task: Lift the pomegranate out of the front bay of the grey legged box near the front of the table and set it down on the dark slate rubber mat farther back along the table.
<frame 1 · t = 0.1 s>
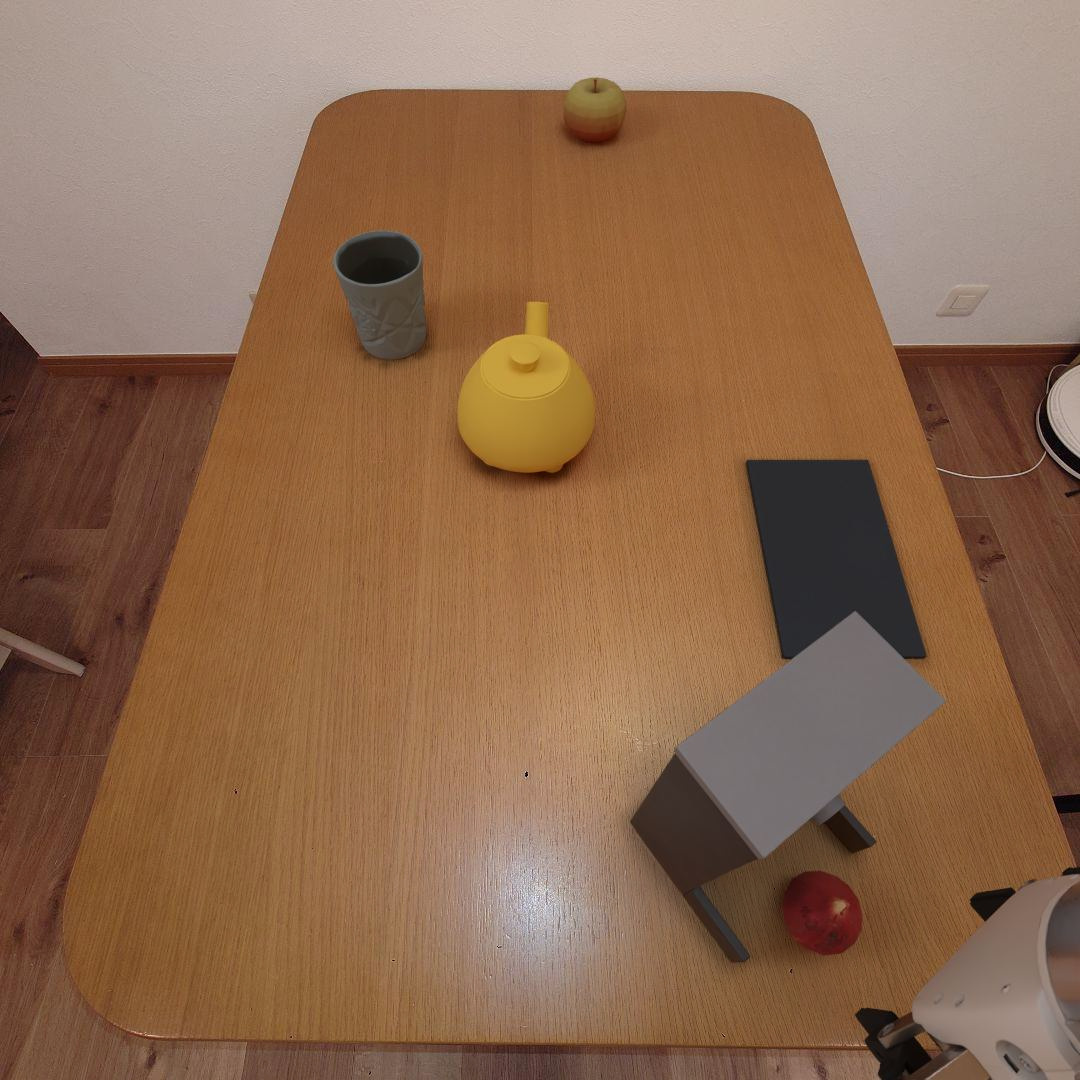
hand: (937, 978, 40), 20 cm above the table, tool pointing down, fingers open, 9 cm apart
pomegranate: (805, 914, 59), on the table
teapot: (529, 423, 85), on the table
grey legged box: (785, 807, 51), on the table
apple: (593, 135, 117), on the table
grey cup: (395, 336, 93), on the table
mat: (827, 552, 76), on the table
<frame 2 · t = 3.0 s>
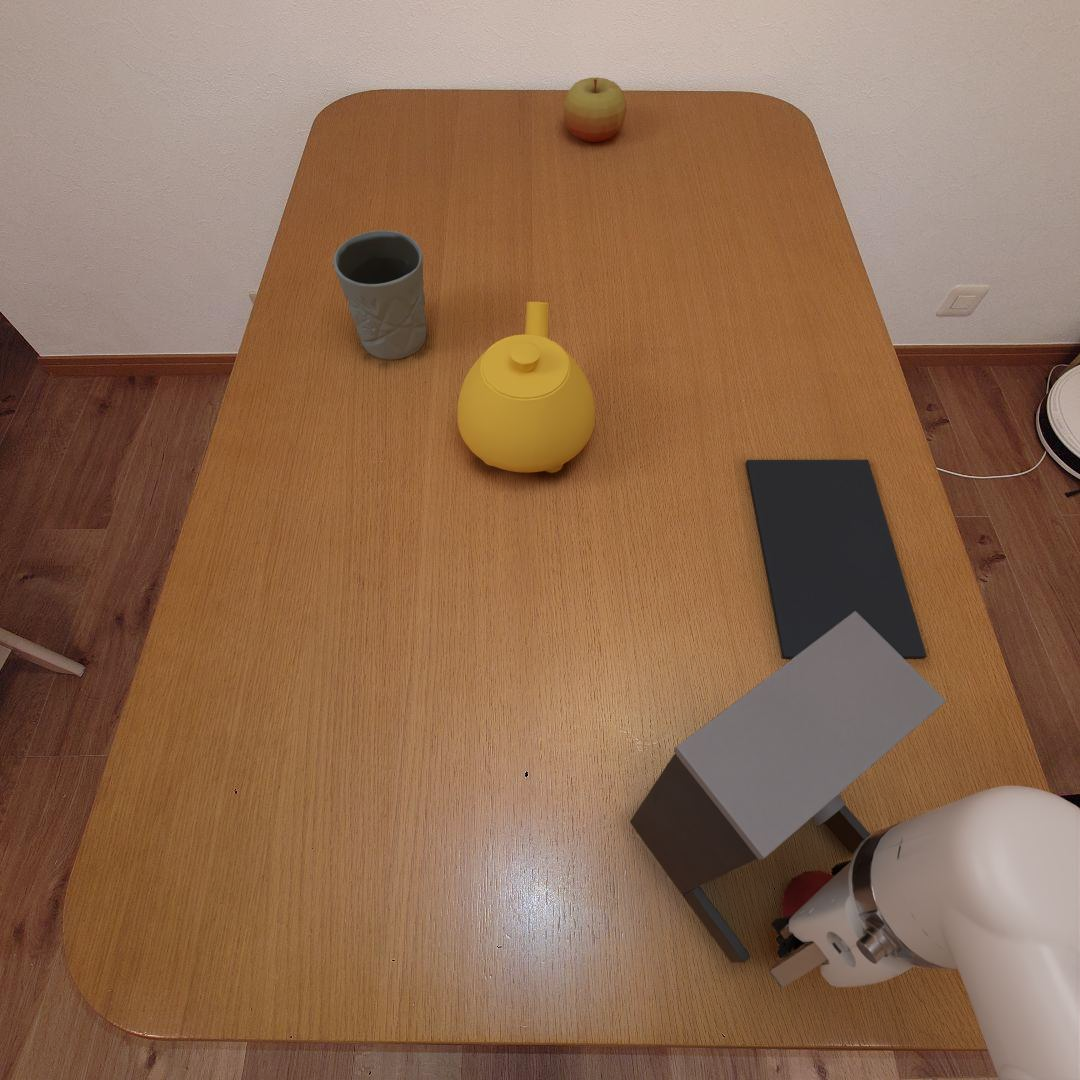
hand: (818, 912, 56), 3 cm above the table, tool pointing down, fingers closed on pomegranate, 5 cm apart
pomegranate: (805, 914, 59), on the table, touching gripper
everything else where it was.
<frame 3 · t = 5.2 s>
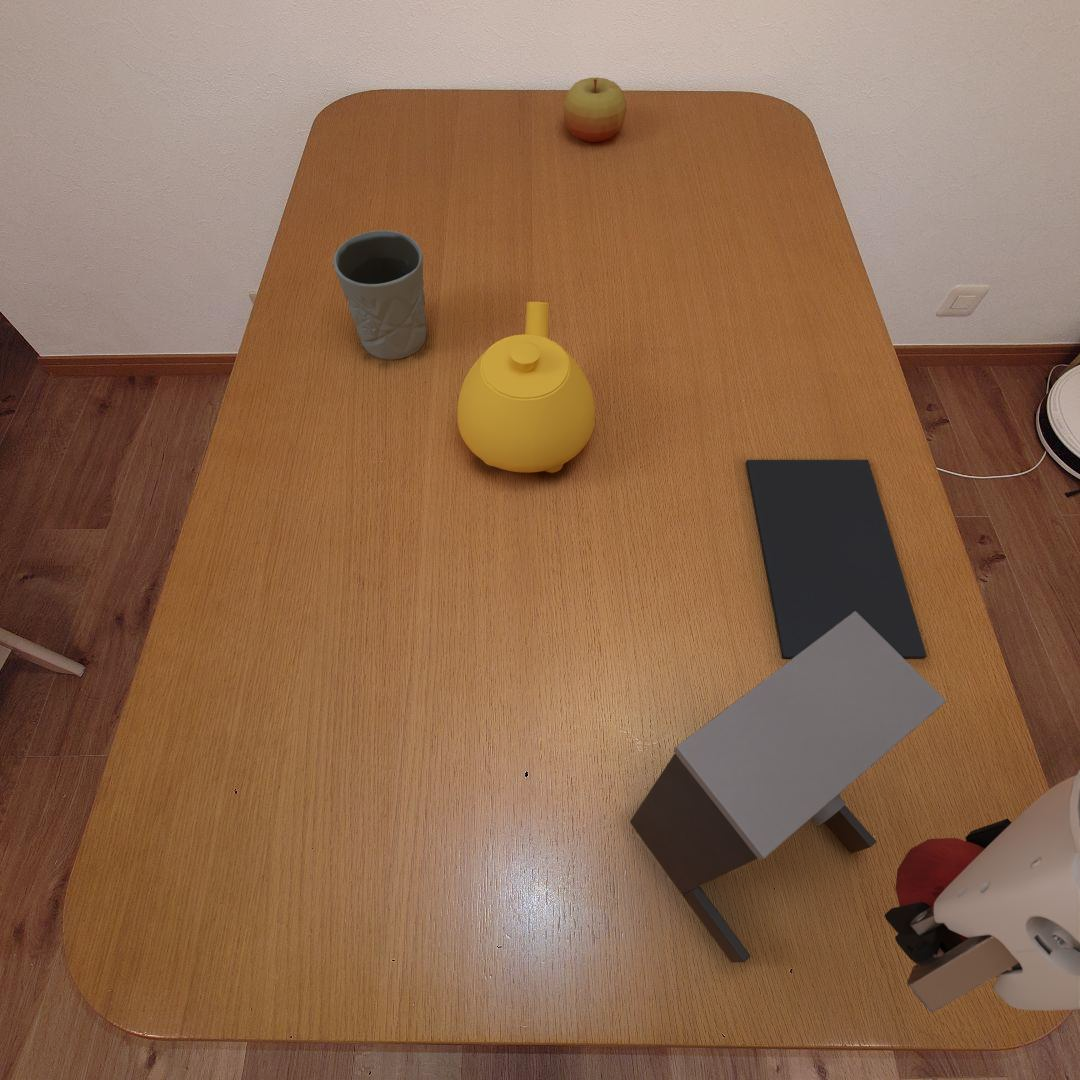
hand: (952, 898, 38), 23 cm above the table, tool pointing down, fingers closed on pomegranate, 5 cm apart
pomegranate: (924, 903, 41), point 20 cm above the table, touching gripper
everything else where it was.
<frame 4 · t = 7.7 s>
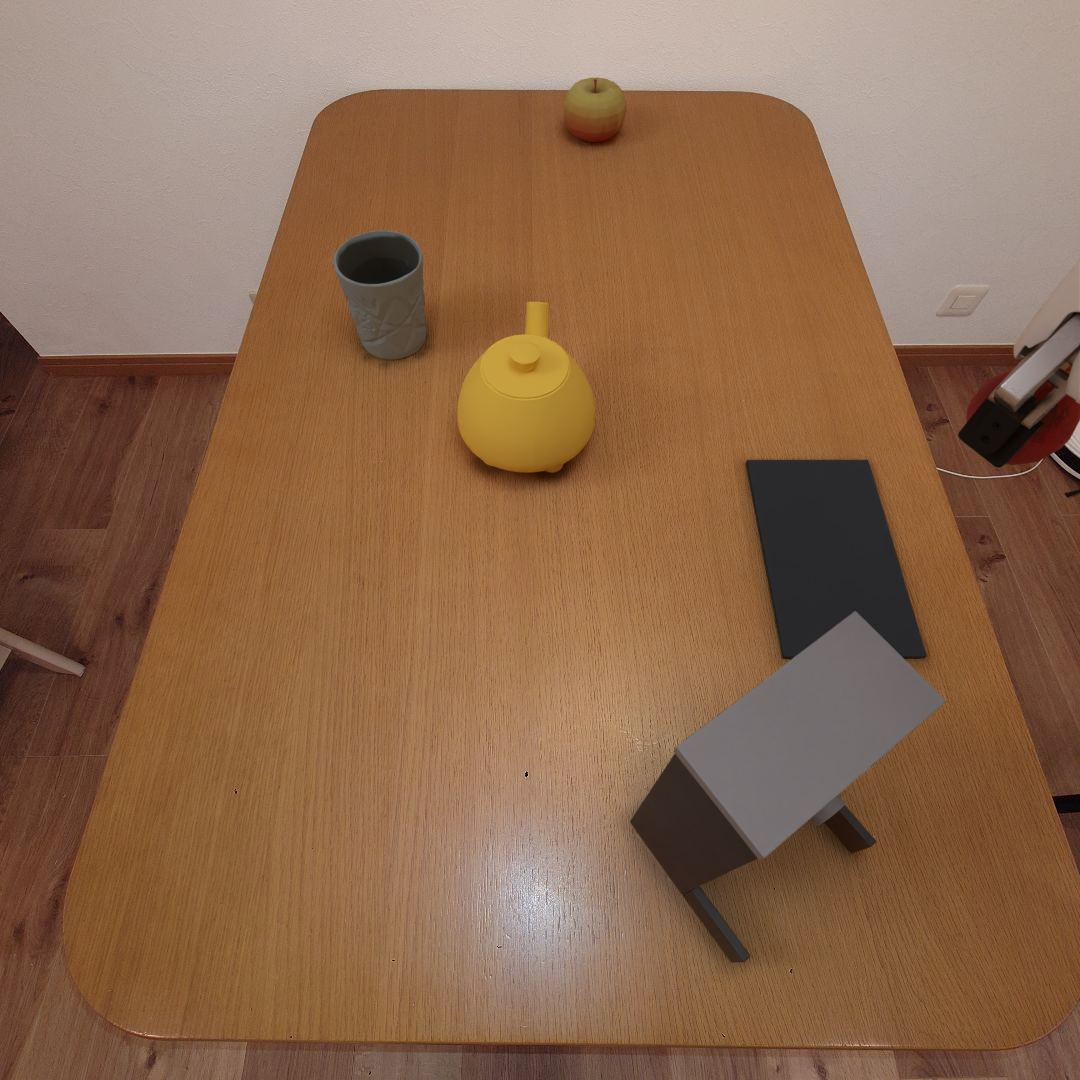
hand: (1015, 424, 45), 31 cm above the table, tool pointing down, fingers closed on pomegranate, 5 cm apart
pomegranate: (987, 454, 48), point 28 cm above the table, touching gripper
everything else where it was.
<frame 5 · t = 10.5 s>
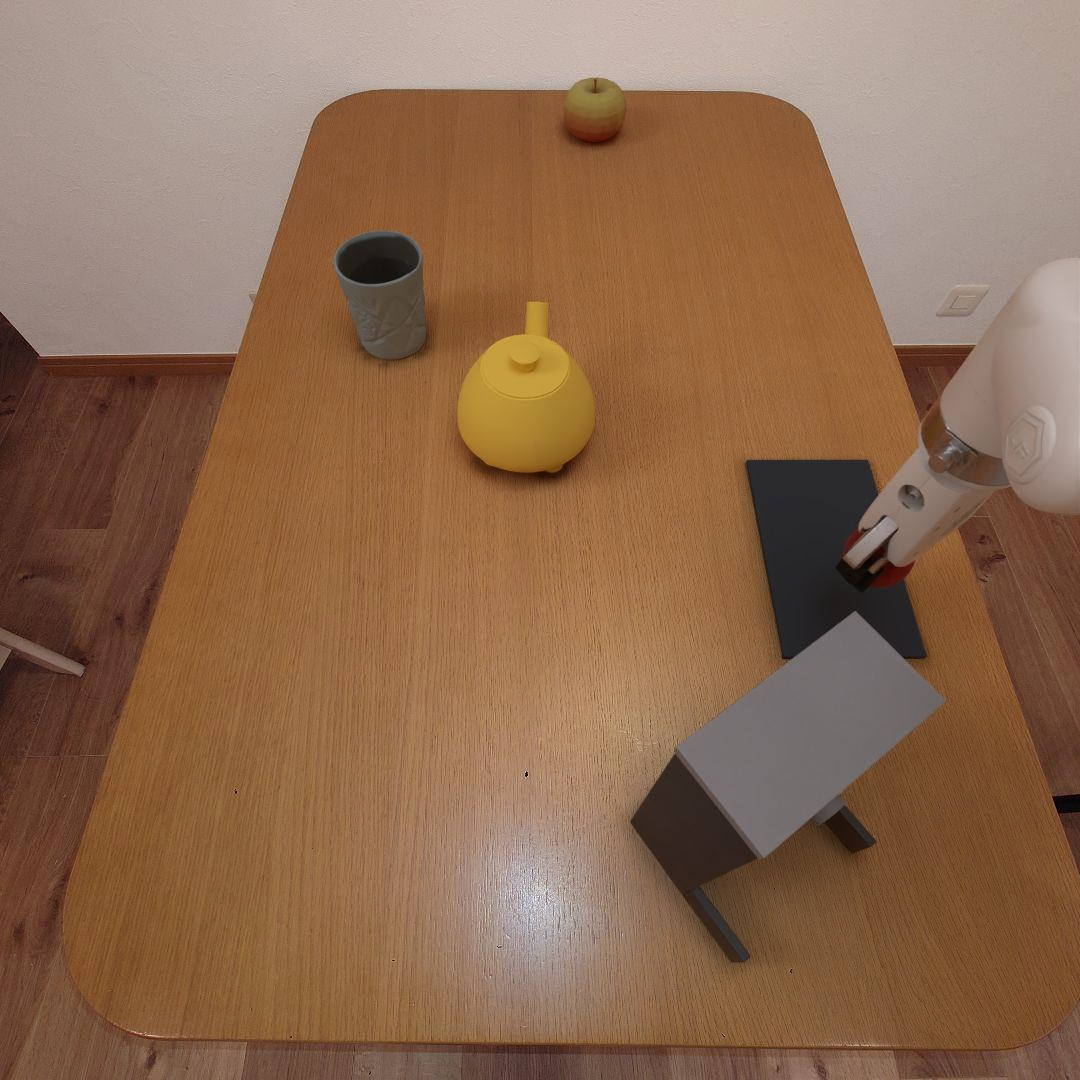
hand: (876, 559, 65), 10 cm above the table, tool pointing down, fingers closed on pomegranate, 5 cm apart
pomegranate: (861, 575, 67), point 7 cm above the table, touching gripper
everything else where it was.
when the fingers open (4 cm above the table, at t = 12.5 s): pomegranate stays where it is, resting on mat.
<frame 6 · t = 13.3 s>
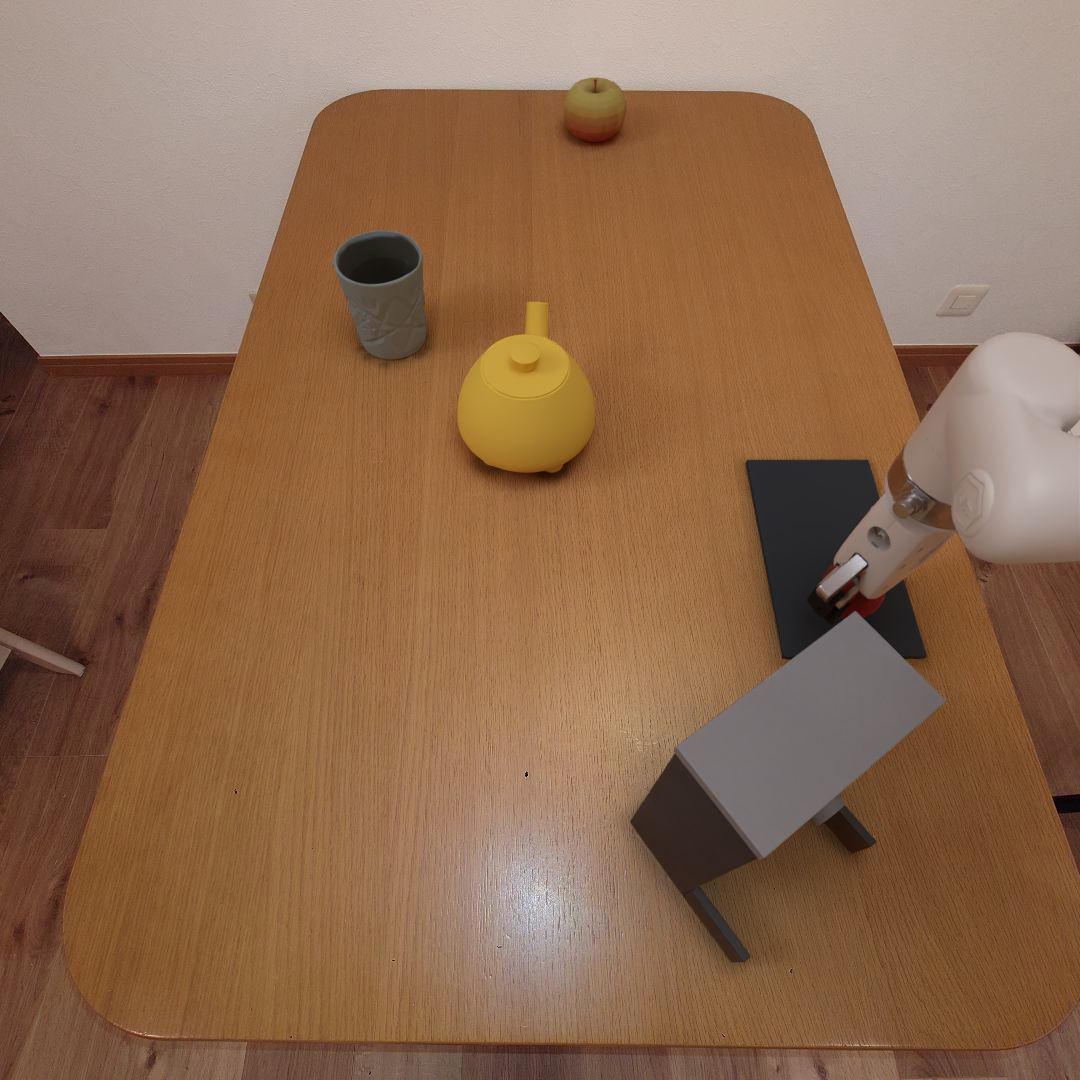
hand: (855, 585, 69), 5 cm above the table, tool pointing down, fingers open, 9 cm apart
pomegranate: (837, 606, 73), resting on mat
everything else where it was.
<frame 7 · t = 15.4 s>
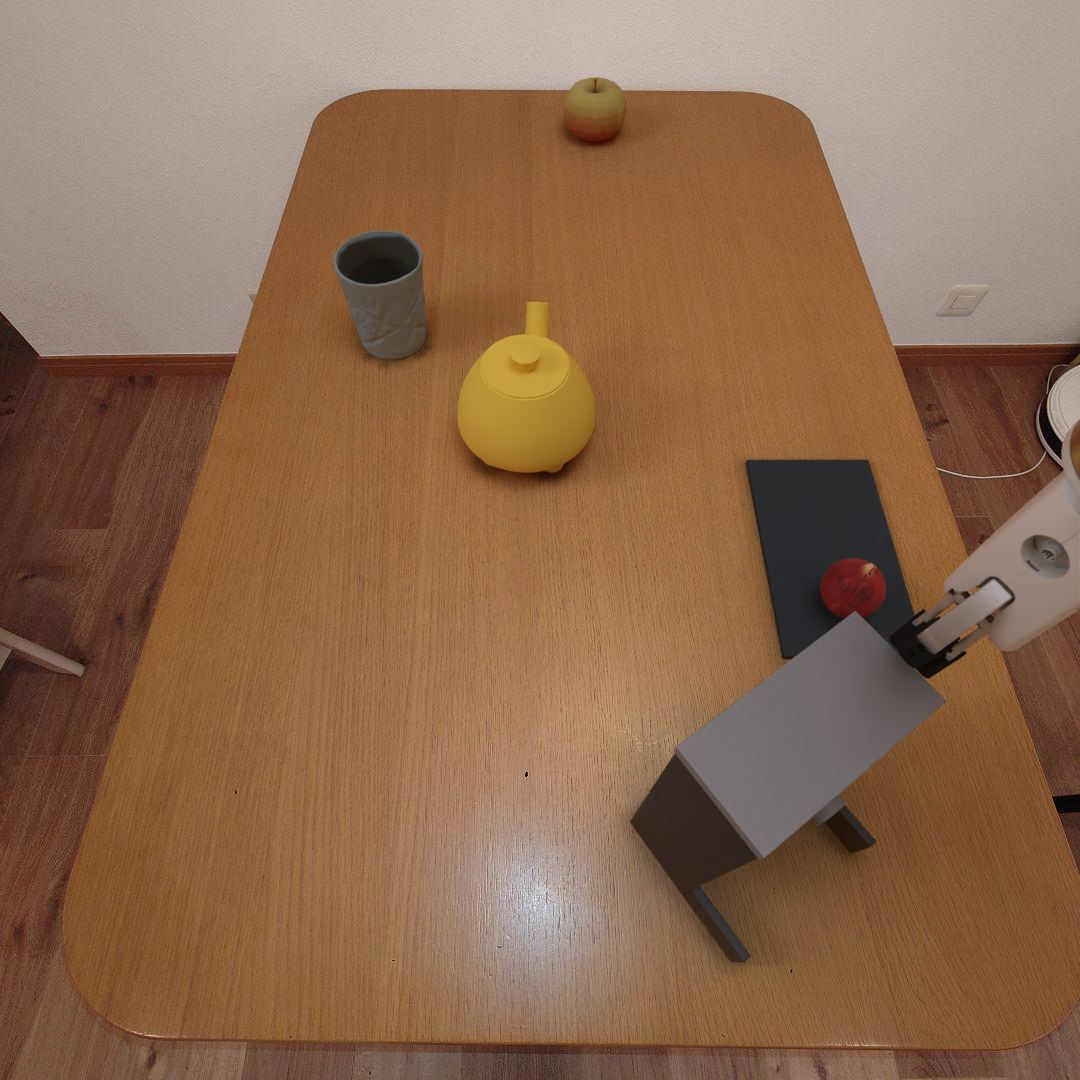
hand: (960, 619, 45), 25 cm above the table, tool pointing down, fingers open, 8 cm apart
nothing on the table moved.
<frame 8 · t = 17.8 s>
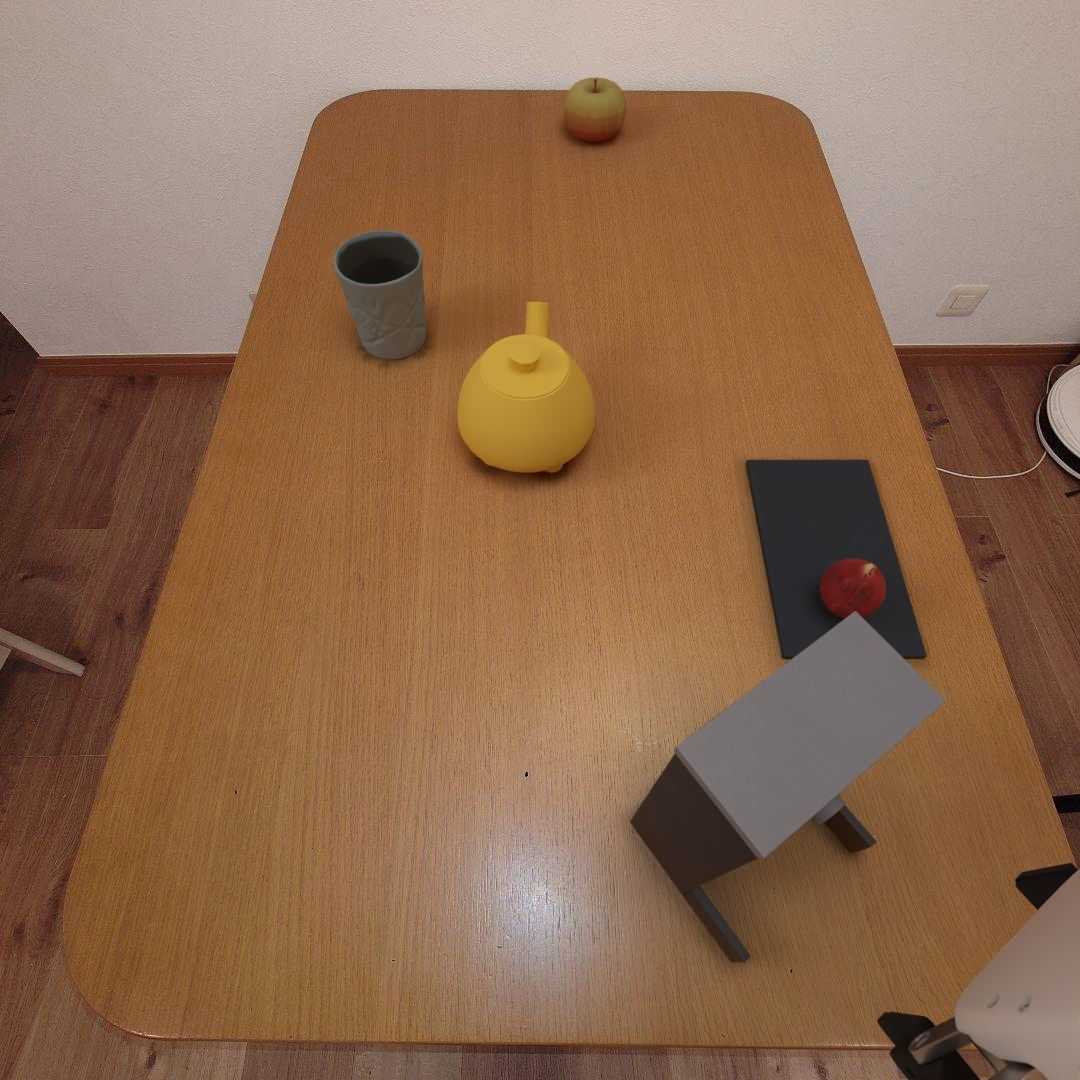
hand: (978, 975, 32), 28 cm above the table, tool pointing down, fingers open, 9 cm apart
nothing on the table moved.
at the end: pomegranate inside the target area on the mat (0.1 cm from its centre), point 0.4 cm above the mat's base; pomegranate moved 29.1 cm from its start; the gripper is holding nothing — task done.
